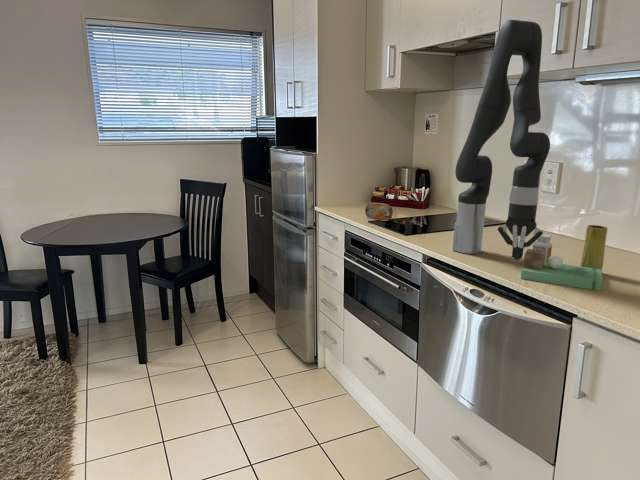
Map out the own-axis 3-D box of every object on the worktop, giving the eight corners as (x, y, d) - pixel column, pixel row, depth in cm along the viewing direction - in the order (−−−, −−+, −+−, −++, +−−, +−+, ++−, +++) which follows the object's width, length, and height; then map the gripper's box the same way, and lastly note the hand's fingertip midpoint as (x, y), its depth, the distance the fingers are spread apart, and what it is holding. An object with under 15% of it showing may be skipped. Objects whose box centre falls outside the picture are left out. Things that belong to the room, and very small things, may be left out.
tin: (364, 218, 226) (365, 201, 224) (369, 217, 228) (369, 200, 226) (389, 223, 215) (389, 205, 213) (393, 222, 217) (394, 204, 215)
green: (520, 278, 136) (521, 270, 135) (526, 267, 148) (527, 259, 147) (600, 290, 126) (602, 281, 126) (600, 277, 138) (601, 269, 137)
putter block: (522, 267, 138) (524, 254, 137) (526, 261, 144) (527, 248, 144) (541, 270, 135) (543, 256, 134) (544, 264, 142) (545, 251, 141)
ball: (546, 269, 136) (547, 255, 136) (547, 266, 140) (548, 253, 139) (561, 271, 135) (563, 257, 134) (562, 268, 138) (564, 254, 137)
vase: (580, 274, 141) (587, 227, 138) (577, 269, 146) (584, 224, 143) (603, 276, 139) (611, 229, 136) (599, 271, 144) (607, 225, 141)
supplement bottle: (544, 262, 153) (547, 233, 151) (552, 267, 148) (556, 237, 145) (527, 262, 153) (531, 233, 150) (535, 267, 147) (539, 237, 145)
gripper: (549, 202, 138) (542, 259, 142) (501, 198, 144) (495, 253, 148) (547, 205, 132) (539, 265, 135) (497, 201, 138) (491, 258, 142)
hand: (516, 259), depth 142 cm, fingers closed
